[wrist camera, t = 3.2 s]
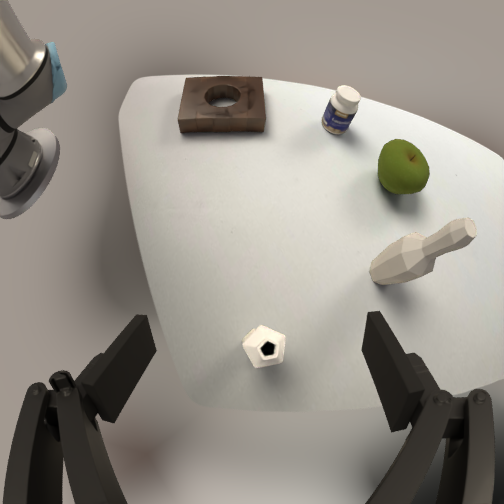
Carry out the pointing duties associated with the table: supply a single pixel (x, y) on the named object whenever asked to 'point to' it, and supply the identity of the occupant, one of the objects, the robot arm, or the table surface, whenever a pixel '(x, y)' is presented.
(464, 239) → the faceted bottle
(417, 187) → the apple
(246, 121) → the hole plate
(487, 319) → the table surface
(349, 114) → the pill bottle
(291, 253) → the table surface
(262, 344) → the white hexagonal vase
